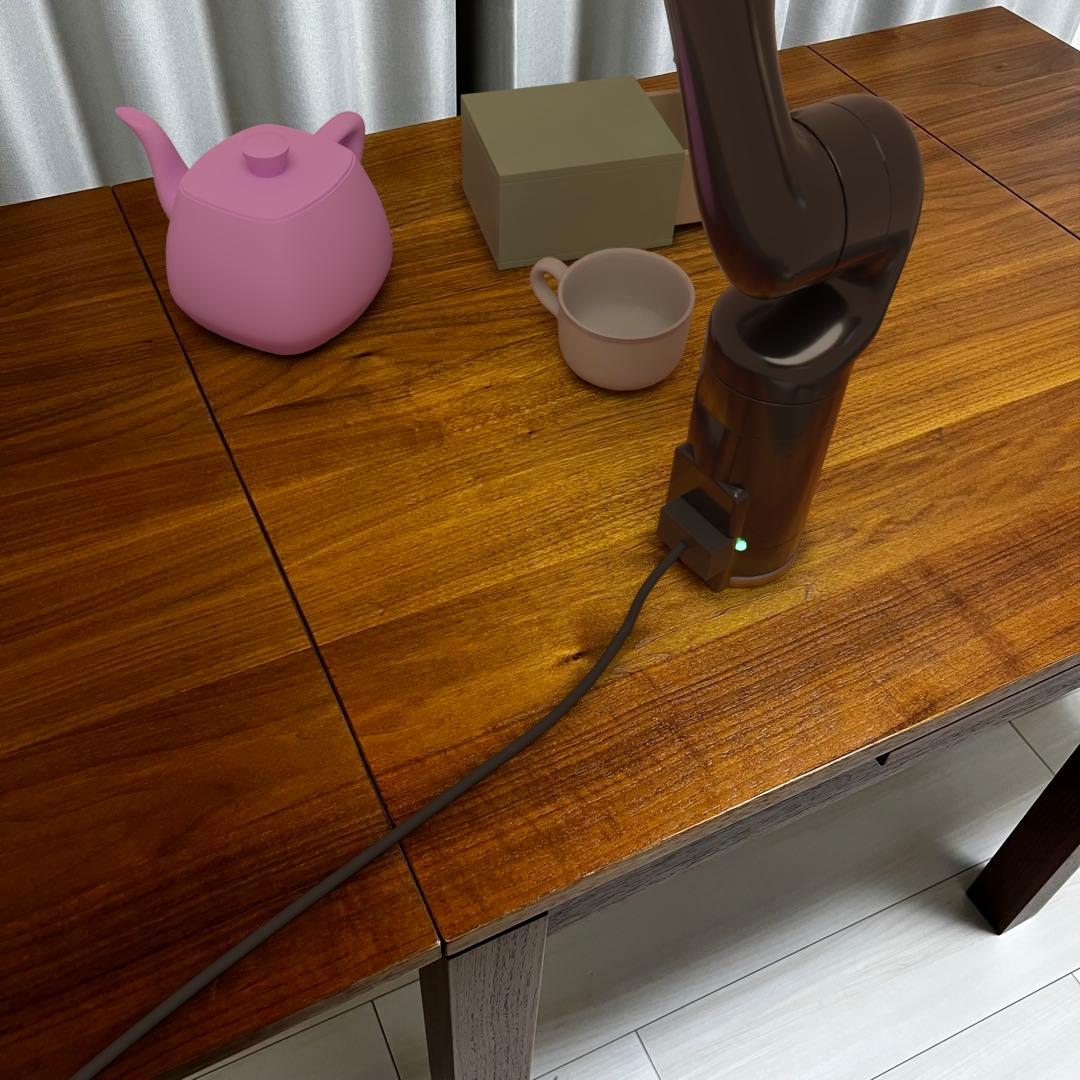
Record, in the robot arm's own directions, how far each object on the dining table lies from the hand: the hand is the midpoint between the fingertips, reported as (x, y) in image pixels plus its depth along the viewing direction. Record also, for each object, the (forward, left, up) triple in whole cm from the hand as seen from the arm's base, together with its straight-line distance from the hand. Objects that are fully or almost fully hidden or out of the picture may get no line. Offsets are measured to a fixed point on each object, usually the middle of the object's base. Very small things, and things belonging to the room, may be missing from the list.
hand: (710, 67), depth 105 cm
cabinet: (-12, +5, -13) cm, 18 cm away
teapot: (-40, +9, -13) cm, 43 cm away
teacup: (-22, -13, -13) cm, 29 cm away
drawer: (+1, 0, -12) cm, 12 cm away
